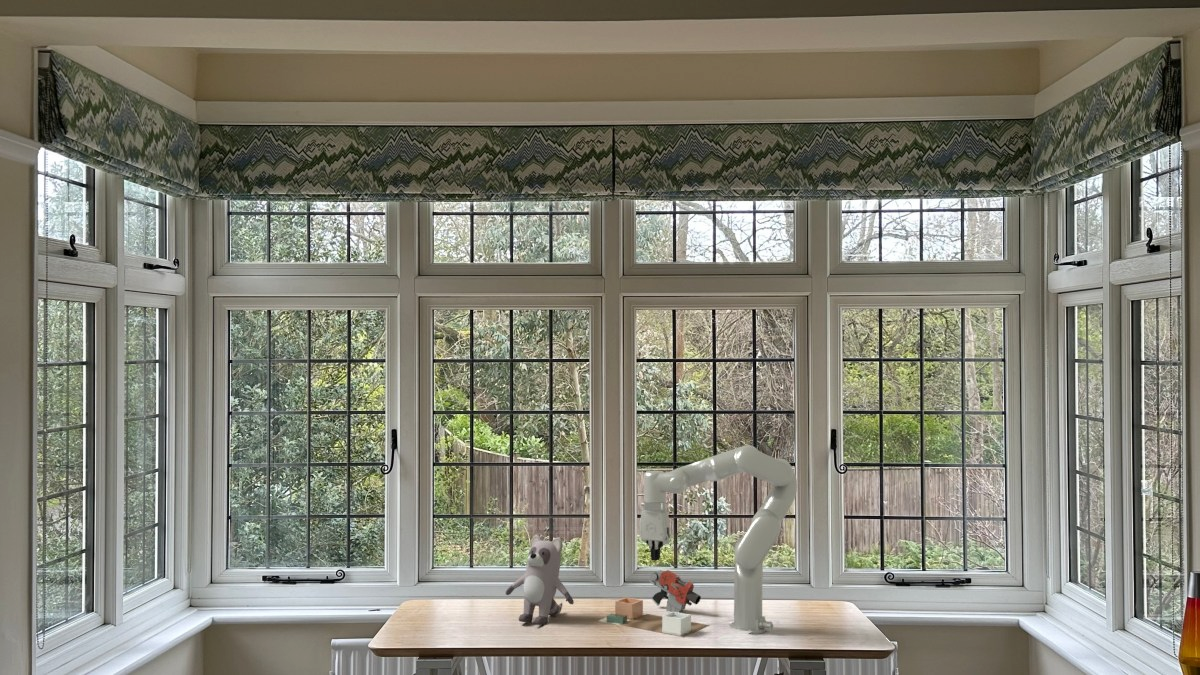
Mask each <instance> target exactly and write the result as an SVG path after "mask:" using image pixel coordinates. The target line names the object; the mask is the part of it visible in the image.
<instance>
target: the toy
mask: <svg viewBox="0 0 1200 675" xmlns="http://www.w3.org/2000/svg"><path fill="white" fill-rule="evenodd" d="M529 548H530V549H529V552H528V554H527V556H528V557H527V561H526V568H525V573H524V574H522V576H521V577H519V578H518V579H517V580H515V581H514V582H513V583H512V584H511V585H510V586H509V587H508V588H507V589H506V590H505V595H507V596H510V595H511V594H512V593H513V591H514V590H515V589H517V588H519V587H521V586H522V585H523V588H522V589H523V594H524V596H523V597H524V599H523V613H522V614H519V616H518V621H519V622H521V623H528V624H529V623H530V624H531V623H532V621H533V622H534V623H533V624H535V625H538V626H539V625H540V626H547V625H548V622H549V616H551V617H556V616H558V615H559V614H560V613H561V611H562V608H563V602H561V603H559V604H558V603H557V601H556V600H555V599H554V597H555V595H556V593H557V590H558V591H559V592H560V593H561V594H562V596H564V597H565V602H568V603H569V604H570V605H574V604H575V602H574V599H573V597H572V595H571V594H570V593H569V591H568V590H567V588H566V587H565V585H564V584H563V583H562V581H561V579H560V578H559V575H560V569H561V568H560V567H561V562H562V550H563V548H564V547H563V540H562V538H561V536H557V537H555V538H554V539H552V541H550V540H543V538H542V537H541V536H540V535H539V534H534V535H533V537H532V538H531V540H530V543H529ZM536 607H538V616H536V617H535V618H534V612H535V609H536ZM533 618H534V620H533Z"/></svg>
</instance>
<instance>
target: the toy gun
mask: <svg viewBox="0 0 1200 675" xmlns="http://www.w3.org/2000/svg"><path fill="white" fill-rule="evenodd" d="M648 580H649V581H648V582H649V583H650V584H652V585H653V586H655V587H657V588H659V589H660V591H658V592H657V593H655V594H654V595H653V596H652V598H651V600H652V601H653V603H654V604H655V605H656V606H660V604H661V601H662V600H663V599H664V598H665V599H667V601H666V606H665V607H666V611H667V612H669V613H670V612H679V613H684V610H685V609H686V606H687V605H688V606H692V604H694V605H698V604H699V602H700V601H701V598H702V597H701V595H700V594H698V593H696V592H694V587H695V585H694V582H693V581H691V580H687V582H685V581H683V580H682V579H681V577H680V576H679V575H677V574H676V573H675V572H672V571H671V570H668V569H667V570H657V571H655V572H653V573H652V574H650V576H649V579H648Z"/></svg>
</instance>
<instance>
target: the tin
mask: <svg viewBox="0 0 1200 675" xmlns="http://www.w3.org/2000/svg"><path fill="white" fill-rule="evenodd" d="M606 617H607V622H611V623H610V624H612V623H619V624H624V623H625V622H627V615H620V614H615V613H610V614H608V615H606ZM607 622H606V623H607Z"/></svg>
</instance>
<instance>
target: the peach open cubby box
mask: <svg viewBox="0 0 1200 675" xmlns="http://www.w3.org/2000/svg"><path fill="white" fill-rule="evenodd" d="M643 602H644V600H643V599H639V598H638V599H637V598H633V597H623V598H621V599H618V600H615V610H614V612H615V613H614V614H620V615H627V619H629V620H634V619H636V618H639V617H641V616H643V613H644V610H643V609H644V603H643Z"/></svg>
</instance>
